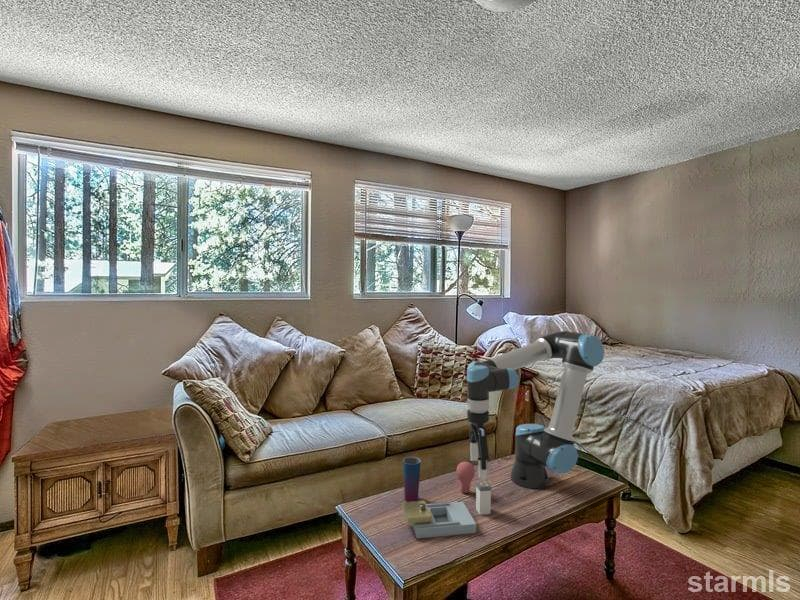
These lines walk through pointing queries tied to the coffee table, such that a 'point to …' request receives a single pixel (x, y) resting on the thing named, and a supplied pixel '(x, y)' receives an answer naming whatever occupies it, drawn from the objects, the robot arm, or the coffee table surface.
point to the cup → (411, 478)
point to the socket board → (446, 521)
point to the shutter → (416, 513)
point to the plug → (483, 497)
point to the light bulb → (465, 475)
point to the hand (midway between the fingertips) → (478, 468)
